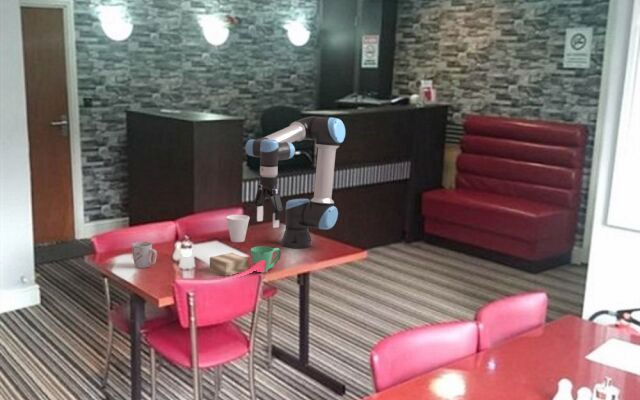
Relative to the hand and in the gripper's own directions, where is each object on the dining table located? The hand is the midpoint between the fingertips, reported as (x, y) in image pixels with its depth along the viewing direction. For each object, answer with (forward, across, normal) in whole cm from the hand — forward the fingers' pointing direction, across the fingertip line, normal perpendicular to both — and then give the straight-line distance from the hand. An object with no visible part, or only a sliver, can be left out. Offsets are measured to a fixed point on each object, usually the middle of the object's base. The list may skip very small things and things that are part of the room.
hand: (267, 224), depth 297 cm
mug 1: (+21, -30, -44) cm, 57 cm away
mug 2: (+21, 0, -1) cm, 21 cm away
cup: (+21, -51, +13) cm, 56 cm away
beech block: (+21, -7, -15) cm, 27 cm away
